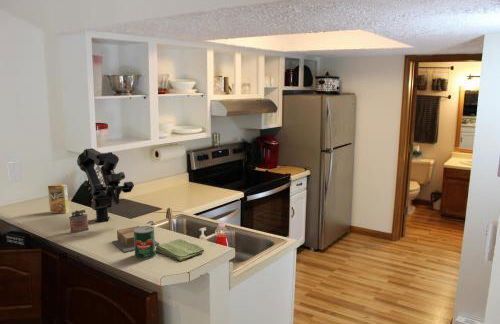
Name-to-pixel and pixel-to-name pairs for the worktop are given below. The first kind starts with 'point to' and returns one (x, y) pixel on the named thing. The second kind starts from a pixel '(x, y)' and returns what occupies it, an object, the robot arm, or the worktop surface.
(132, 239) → the walnut slab
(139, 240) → the canned tomato
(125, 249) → the mat
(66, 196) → the candy box
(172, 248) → the washcloth
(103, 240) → the worktop surface
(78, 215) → the red patterned tin
